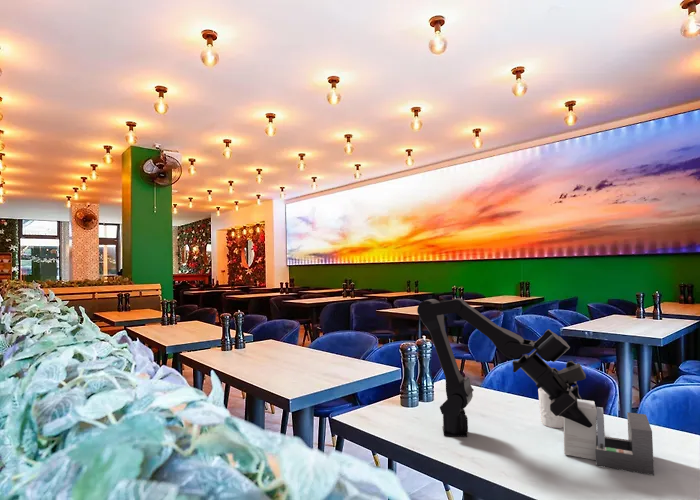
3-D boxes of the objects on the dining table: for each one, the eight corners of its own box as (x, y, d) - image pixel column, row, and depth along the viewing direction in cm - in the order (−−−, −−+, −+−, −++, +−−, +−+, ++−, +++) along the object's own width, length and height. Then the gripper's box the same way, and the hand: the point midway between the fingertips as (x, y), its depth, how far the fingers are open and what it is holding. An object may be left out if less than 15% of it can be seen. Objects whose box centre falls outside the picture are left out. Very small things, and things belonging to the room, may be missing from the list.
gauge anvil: (596, 465, 105) (594, 423, 106) (595, 446, 116) (593, 408, 116) (654, 475, 100) (652, 431, 100) (647, 454, 111) (645, 414, 111)
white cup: (571, 429, 128) (570, 395, 128) (542, 428, 130) (541, 394, 130) (564, 420, 136) (562, 387, 136) (536, 418, 137) (535, 386, 137)
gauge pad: (598, 462, 105) (596, 419, 106) (597, 445, 114) (596, 406, 115) (605, 463, 105) (604, 420, 105) (604, 446, 114) (602, 407, 114)
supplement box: (594, 449, 115) (595, 400, 115) (596, 461, 108) (597, 409, 108) (563, 443, 118) (564, 396, 118) (563, 454, 111) (563, 404, 111)
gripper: (562, 360, 106) (618, 412, 101) (565, 346, 123) (613, 390, 117) (529, 390, 110) (581, 442, 104) (536, 372, 126) (581, 416, 121)
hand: (590, 420), depth 112 cm, fingers open, 8 cm apart
